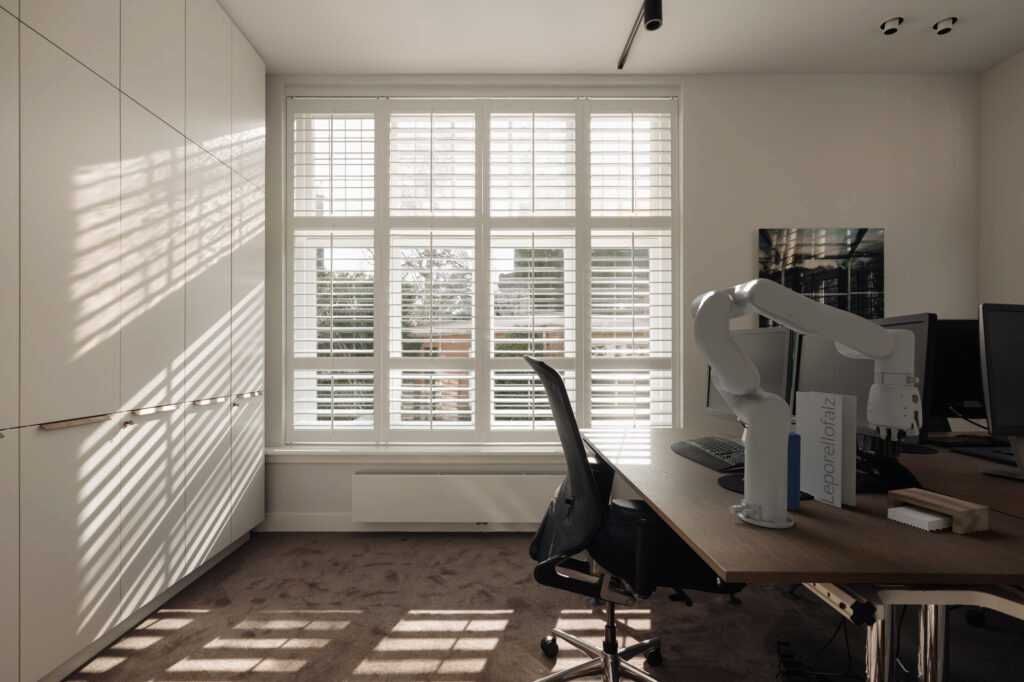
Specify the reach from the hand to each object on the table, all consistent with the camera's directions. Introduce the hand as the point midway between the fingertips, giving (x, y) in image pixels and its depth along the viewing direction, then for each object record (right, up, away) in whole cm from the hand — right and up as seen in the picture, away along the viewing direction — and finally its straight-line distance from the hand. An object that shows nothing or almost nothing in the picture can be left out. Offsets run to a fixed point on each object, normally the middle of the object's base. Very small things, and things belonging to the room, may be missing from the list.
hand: (891, 456), depth 118 cm
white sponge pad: (+12, -17, +4) cm, 21 cm away
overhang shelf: (+14, -17, +5) cm, 23 cm away
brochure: (-3, -18, +21) cm, 28 cm away
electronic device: (-18, -17, +16) cm, 30 cm away
